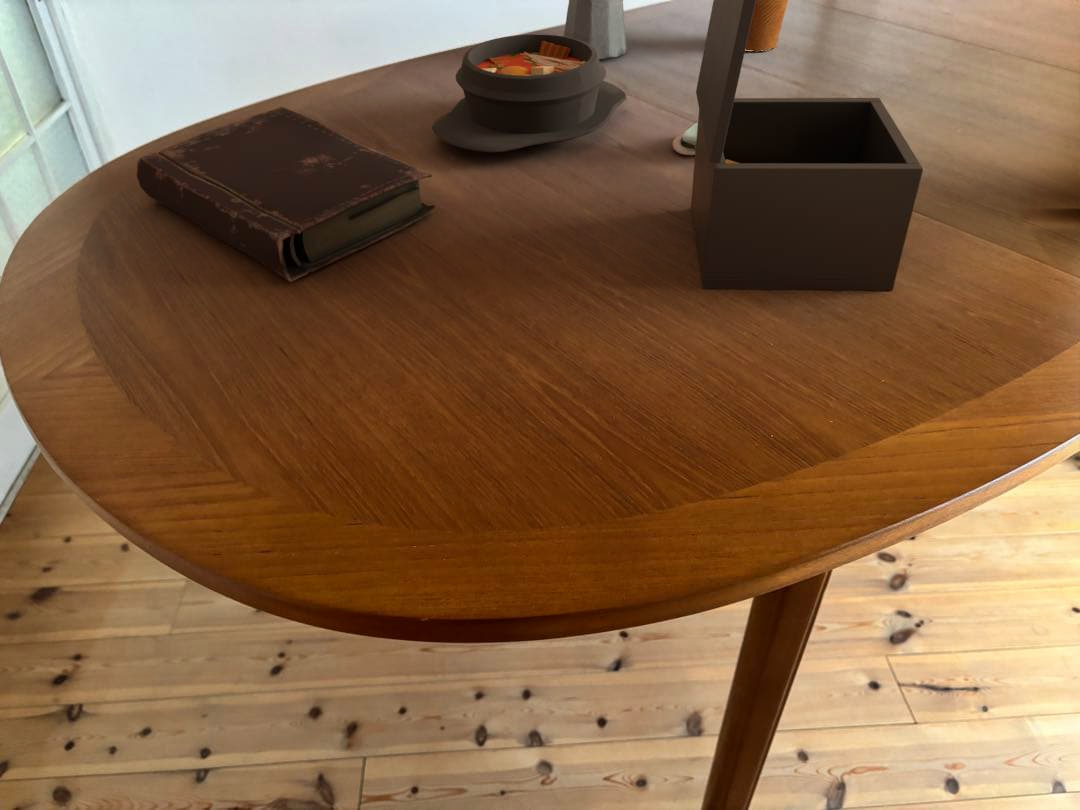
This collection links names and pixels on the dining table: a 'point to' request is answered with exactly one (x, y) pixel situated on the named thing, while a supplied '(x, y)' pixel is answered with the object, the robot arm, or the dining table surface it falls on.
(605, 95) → the casserole
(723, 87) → the lid
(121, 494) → the dining table surface
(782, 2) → the disposable coffee cup
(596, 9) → the moka pot
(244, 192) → the diary
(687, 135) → the pacifier
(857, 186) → the dark open-top crate
